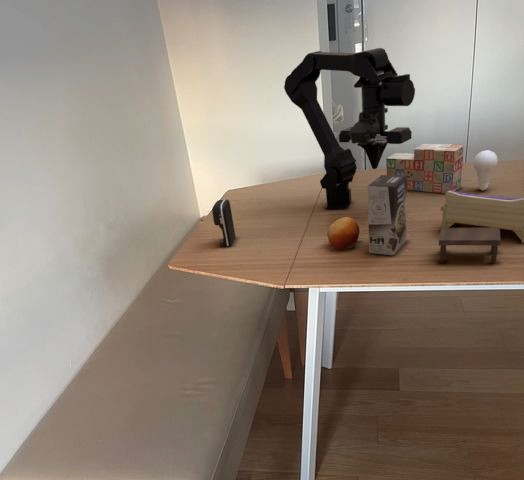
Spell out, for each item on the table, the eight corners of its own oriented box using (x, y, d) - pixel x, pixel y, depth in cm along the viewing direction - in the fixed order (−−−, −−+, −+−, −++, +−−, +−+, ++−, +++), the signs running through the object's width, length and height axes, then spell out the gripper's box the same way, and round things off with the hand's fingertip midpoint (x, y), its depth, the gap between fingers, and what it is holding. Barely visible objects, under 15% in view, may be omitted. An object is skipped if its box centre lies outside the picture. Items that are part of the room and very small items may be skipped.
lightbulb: (470, 193, 147) (473, 154, 141) (472, 187, 152) (475, 148, 146) (494, 193, 145) (498, 152, 139) (494, 186, 149) (498, 147, 143)
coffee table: (437, 263, 113) (439, 240, 110) (440, 250, 118) (441, 228, 115) (497, 264, 109) (500, 240, 106) (497, 251, 114) (499, 227, 111)
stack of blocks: (386, 188, 162) (385, 147, 155) (395, 182, 165) (395, 142, 159) (452, 194, 149) (455, 150, 142) (461, 187, 153) (464, 144, 146)
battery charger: (223, 238, 145) (215, 198, 139) (236, 237, 144) (229, 197, 138) (217, 248, 139) (209, 206, 133) (231, 247, 139) (223, 205, 133)
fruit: (367, 245, 123) (348, 218, 121) (339, 262, 127) (320, 236, 124) (368, 232, 130) (350, 207, 127) (342, 249, 134) (324, 224, 131)
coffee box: (394, 256, 119) (394, 186, 111) (368, 253, 123) (366, 185, 114) (407, 241, 126) (408, 174, 117) (382, 239, 129) (381, 173, 120)
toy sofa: (541, 230, 120) (548, 186, 114) (528, 244, 115) (535, 199, 109) (453, 220, 133) (456, 180, 127) (438, 232, 127) (440, 191, 122)
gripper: (324, 113, 132) (329, 175, 140) (389, 112, 120) (390, 179, 129) (349, 104, 138) (351, 163, 147) (413, 102, 127) (412, 167, 135)
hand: (374, 168), depth 139 cm, fingers closed
